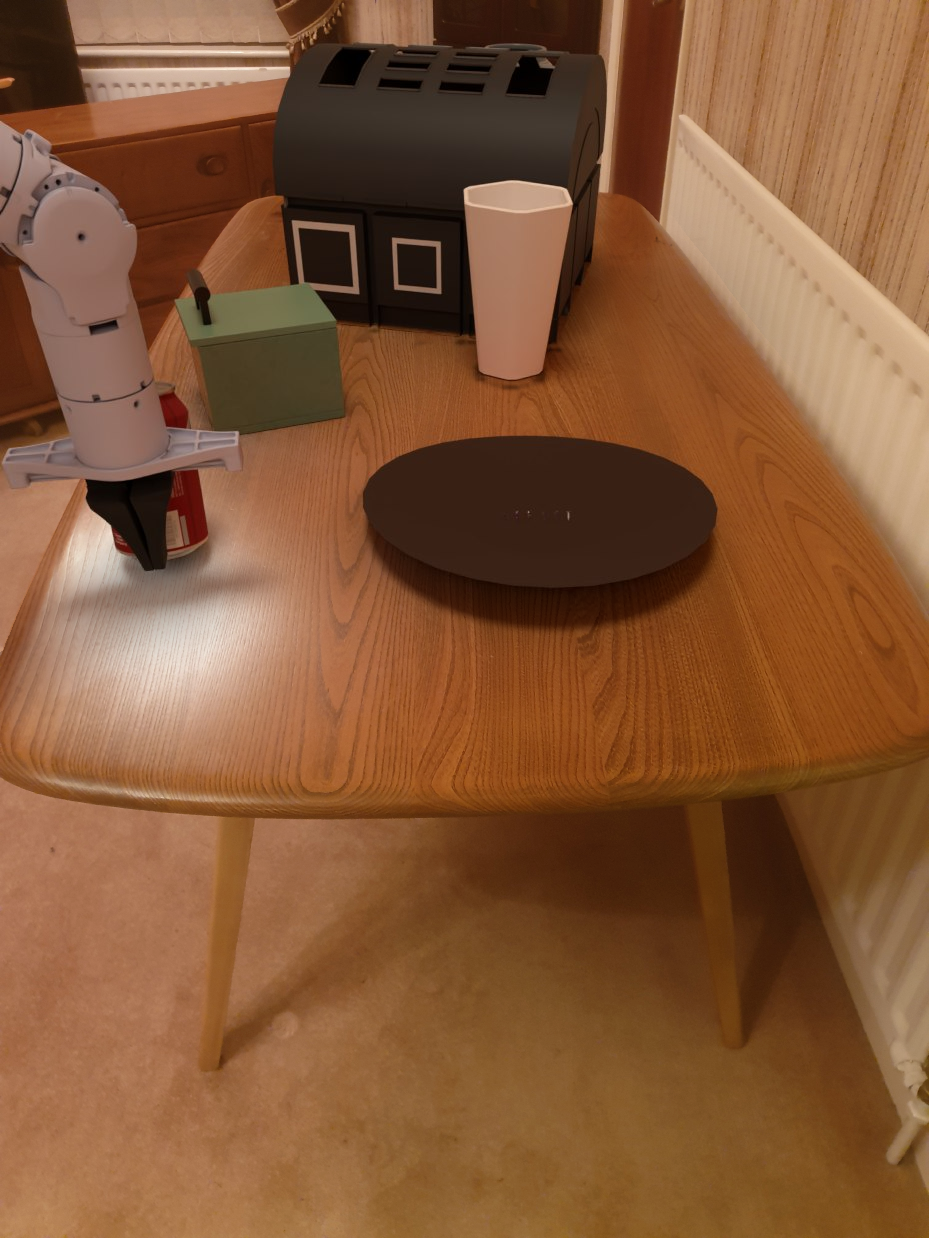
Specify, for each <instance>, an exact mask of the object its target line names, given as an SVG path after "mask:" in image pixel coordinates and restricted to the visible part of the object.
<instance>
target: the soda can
mask: <svg viewBox="0 0 929 1238" xmlns="http://www.w3.org/2000/svg"><path fill="white" fill-rule="evenodd" d="M155 383H156V387H157V391H158V396H159V400H160V404H161V408H162V412H163V416H164V420H165V424H166V427H172V428H182V429H192V425H191V418H190V412H189V409H188V407H187V406H186V405H185V404H184V402H183V401H182V400H181V399H180V398H179V397H178V395H177V394H176V392H175V391H176V386H175V384H174V383H173V382H169V381H158V380H157V381H156V380H155ZM203 496H204V495H203V490H202V485H201V479H200V473H199V469H196V470H183V471H175V477H174V482H173V488H172V493H171V497H170V501H169V505H168V509H167V516H166V545H167V553H168V555H167V561H168V560H169V561H170V560H174V559H178V558H182V557H184V556H187V555H190V554H191V553H193V552H195V551H196V550H197V549H198V548H199V547H201V546H202V545H203V544H205V543H206V542H207V540H208V539H209V536H210V531H209V527H208V521H207V515H206V509H205V502H204V497H203ZM110 529H111V533H112V538H113V543H114V547H115V550H116V551H117V553H119V554H121V555H123V556H125V557H126V556H127V557H131V558H132V559H134V560H137V561H138V559H137V557H136V556H135V554H134V553H133V551H132V550H131V549H130V547H129V546H128V544H127V543H126V542H125V541H124V539H123V538H122V537H121V536H120V535H119V534H118V533H117V531H116V530H115V529H114V528H113V527H112V526H111V525H110Z"/></svg>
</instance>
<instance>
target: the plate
mask: <svg viewBox="0 0 929 1238" xmlns="http://www.w3.org/2000/svg"><path fill="white" fill-rule="evenodd" d="M362 509H363V511H364V513H365V515H366V518H367V520H368V522H369V524H370V526H372V527H373V528H374V530H375V531H376V532H377V533H378V534H379V535H380V536H381V537H382V538H383V539H384V541H386V542H388V543H389V544H390V545H392V546H393V547H395V548H396V549H398V550H399V551H401V552H402V553H404V554H406V555H407V556H409V557H411V558H412V559H413V558H414V559H415V560H418V561H420V562H422V563H424V564H426V565H429V566H431V567H433V568H436V569H438V570H442V571H445V572H449V573H451V574H455V575H458V576H462V577H465V578H468V579H472V580H478V581H482V582H489V583H490V582H491V583H495V584H501V585H506V586H516V587H532V588H548V589H549V588H550V589H554V588H555V589H559V588H575V587H594V586H601V585H606V584H610V583H617V582H622V581H623V582H624V581H629V580H633V579H637V578H639V577H642V576H645V575H649V574H651V573H655V572H659V571H661V570H664V569H666V568H667V567H670V566H671V565H673V564H676V563H678V562H679V561H681V560H683V559H685V558H687V557H689V556H690V555H691V554H692V553H694V552H695V551H696V550H697V549H699V548H700V547H701V546H702V545H703V544H704V543H706V541H707V540H708V538H709V536H710V535H711V533H712V531H713V530H714V528H715V527H716V525H717V518H718V506H717V503H716V500H715V496H714V494H713V492H712V491H711V490H710V489H709V487H708V486H707V484H705V483H704V481H703V480H702V479H701V478H699V477H698V476H697V475H695V474H694V473H693V472H691V471H690V470H688V469H687V468H686V467H684V466H682V465H680V464H679V463H676V462H674V461H672V460H670V459H668V458H666V457H664V456H662V455H659V454H655V453H652V452H650V451H646V450H643V449H640V448H636V447H632V446H628V445H623V444H619V443H615V442H608V441H602V440H594V439H589V438H579V437H567V436H555V435H494V436H483V437H470V438H469V437H468V438H462V439H456V440H450V441H443V442H440V443H435V444H431V445H427V446H422V447H419V448H417V449H413V450H411V451H408V452H406V453H404V454H400V455H398V456H396V457H394V458H393V459H391V460H390V461H388V462H386V463H385V464H383V465H381V466H380V467H379V468H378V469H377V470H376V471H375V472H374V473H373V474H372V475H371V476H370V477H369V478H368V480H367V482H366V485H365V486H364V489H363V491H362Z"/></svg>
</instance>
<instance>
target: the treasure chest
mask: <svg viewBox="0 0 929 1238" xmlns="http://www.w3.org/2000/svg"><path fill="white" fill-rule="evenodd" d="M537 58H547V59H557V60H556V63H555V65H552V66H540V64H539V61H538V59H537ZM517 63H518V64H519V65H518V64H517ZM607 82H608V81H607V69H606V63H605V60H604V57H603V56H602V54H588V53H587V54H585V53H584V54H583V53H570V52H569V50H567V51H559V50H558V51H557V50H547V51H538V50H528V52H518V51H510V49H504V48H485V47H480V46H479V47H477V46H476V47H475V46H466V47H465V48H454V46H452V45H451V46H450V45H433V44H432V45H431V44H430V45H429V44H408V45H407V46H399V45H398V46H397V45H396V44H394V43H373V42H371V43H370V42H357V41H356V42H353V43H352V44H351V43H331V42H330V43H329V42H327V43H316V44H315V45H313V46H312V47H310V48H309V49H307V50H305V51H304V53H303V54H302V55H301V56H300V58H299V59H298V61H296V63H295V64H294V66H293V68H292V70H291V72H290V75H289V77H288V78H287V81H286V82H285V85H284V89H283V92H282V95H281V97H280V101H279V105H278V106H277V107H278V108H277V111H276V112H277V113H276V117H275V123H274V127H273V141H272V172H273V173H272V174H273V185H274V194H275V197H276V196H277V197H282V198H283V203H282V204H280V210H281V218H282V226H283V234H284V235H283V236H284V243H285V249H286V250H285V251H286V260H287V268H288V275H289V285H297V284H305V283H309V284H310V285H311V287H312V288H313V289H314V291H315V292H316V293H317V295H318V296H319V297H320V299H321V300H322V301H323V303H324V304H325V306H326V307H327V308H328V310H329V311H330V312H331V314H332V315H333V316H334V318H335V319H336V322H337V325H338V324H339V325H347V326H348V325H349V326H357V327H366V328H371V326H372V325H378V329H384V330H394V331H395V330H396V331H404V332H412V333H423V334H431V335H432V334H433V335H441V336H449V337H451V336H452V337H461V336H462V335H463V334H467V335H468V338H470V339H476V331H475V320H474V308H473V296H472V285H471V273H470V262H469V250H468V239H467V227H466V215H465V204H464V189H465V188H467V187H469V186H476V185H483V184H490V183H497V182H503V181H524V182H531V183H538V184H545V185H551V186H558V187H563V188H565V189H567V190H568V193H569V195H570V198H571V200H572V203H573V206H572V212H571V217H570V223H569V228H568V233H567V239H566V244H565V250H564V255H563V261H562V266H561V272H560V277H559V282H558V288H557V293H556V299H555V304H554V310H553V315H552V320H551V326H550V331H549V337H548V342H547V345H549V344H557V343H558V340H559V339H560V336H561V334H562V332H563V330H564V327H565V325H566V323H567V320H568V317H569V314H570V313H571V311H572V309H573V306H574V304H575V301H576V299H577V297H578V294H579V292H580V290H581V287H582V284H583V283H584V281H585V278H586V277H587V274H588V271H589V269H590V267H591V265H592V260H593V249H594V240H595V231H596V230H595V229H596V219H597V210H598V198H599V191H600V179H601V169H602V164H601V163H598V161H599V159H600V158H601V156H602V154H603V153H604V148H605V147H604V146H605V136H606V135H605V134H606V124H607V106H608V105H607V104H608V89H607V88H608V83H607Z"/></svg>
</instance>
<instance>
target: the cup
mask: <svg viewBox="0 0 929 1238" xmlns="http://www.w3.org/2000/svg"><path fill="white" fill-rule="evenodd" d="M464 204H465V215H466V227H467V239H468V250H469V262H470V273H471V285H472V296H473V308H474V320H475V331H476V338H475V341H476V342H475V343H476V352H477V353H476V355H477V366H478V371H479V372H480V373H481V374H483V375H486V376H491V377H495V378H500V379H503V380H506V381H507V380H509V381H510V380H511V381H514V380H521V379H525V378H527V377H532V376H536V375H539V374H540V373H541V372H543V369H544V364H545V358H546V354H547V353H546V352H547V347H548V344H547V342H548V337H549V331H550V326H551V320H552V315H553V310H554V304H555V299H556V293H557V288H558V282H559V277H560V272H561V266H562V261H563V255H564V250H565V244H566V239H567V233H568V228H569V223H570V217H571V212H572V206H573V203H572V200H571V198H570V195H569V193H568V190H567V189H565V188H563V187H558V186H551V185H545V184H538V183H531V182H524V181H503V182H497V183H490V184H483V185H476V186H469V187H467V188H465V189H464Z"/></svg>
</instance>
